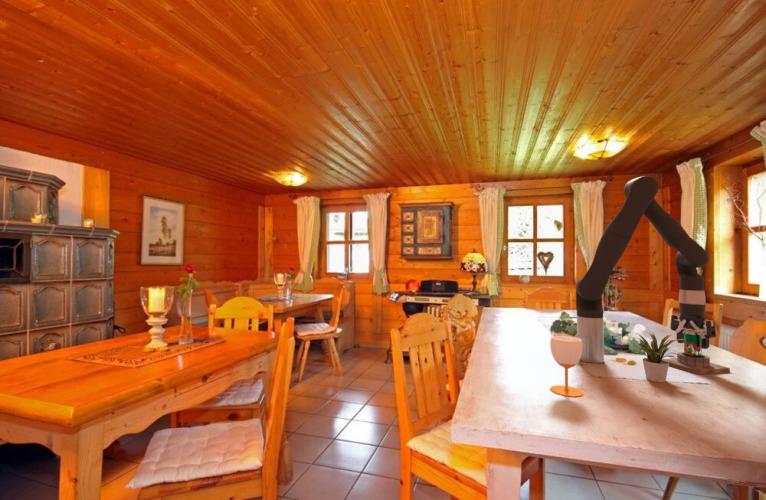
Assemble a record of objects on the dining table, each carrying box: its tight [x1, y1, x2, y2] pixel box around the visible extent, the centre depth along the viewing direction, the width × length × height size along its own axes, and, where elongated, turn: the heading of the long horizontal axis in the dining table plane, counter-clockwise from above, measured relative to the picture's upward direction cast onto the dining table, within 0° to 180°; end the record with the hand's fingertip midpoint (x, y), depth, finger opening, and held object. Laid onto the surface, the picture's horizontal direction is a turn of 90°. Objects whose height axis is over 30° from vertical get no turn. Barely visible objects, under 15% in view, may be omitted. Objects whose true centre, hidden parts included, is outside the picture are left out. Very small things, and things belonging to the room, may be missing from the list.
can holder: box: [662, 351, 731, 376], centre depth 133 cm, size 14×14×4 cm
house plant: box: [634, 330, 685, 383], centre depth 119 cm, size 14×14×16 cm
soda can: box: [683, 329, 703, 358], centre depth 133 cm, size 5×5×12 cm
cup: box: [549, 335, 584, 398], centre depth 109 cm, size 9×9×16 cm
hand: (692, 345), depth 133 cm, fingers open, 8 cm apart
